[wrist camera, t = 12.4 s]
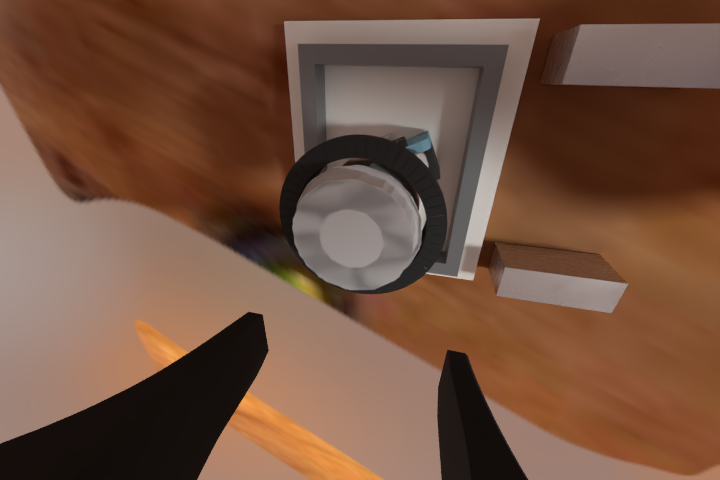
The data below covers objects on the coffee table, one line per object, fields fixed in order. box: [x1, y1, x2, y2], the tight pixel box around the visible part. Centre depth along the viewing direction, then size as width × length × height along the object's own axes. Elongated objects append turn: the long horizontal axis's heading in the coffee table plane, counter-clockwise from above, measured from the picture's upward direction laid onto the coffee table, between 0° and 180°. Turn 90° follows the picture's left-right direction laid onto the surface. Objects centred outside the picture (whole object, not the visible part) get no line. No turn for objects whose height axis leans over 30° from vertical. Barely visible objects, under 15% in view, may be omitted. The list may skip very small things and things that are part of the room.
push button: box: [280, 131, 447, 294], centre depth 13 cm, size 7×5×10 cm
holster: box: [488, 23, 720, 313], centre depth 15 cm, size 6×13×3 cm, turn 179°
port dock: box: [284, 18, 540, 280], centre depth 17 cm, size 12×14×2 cm
